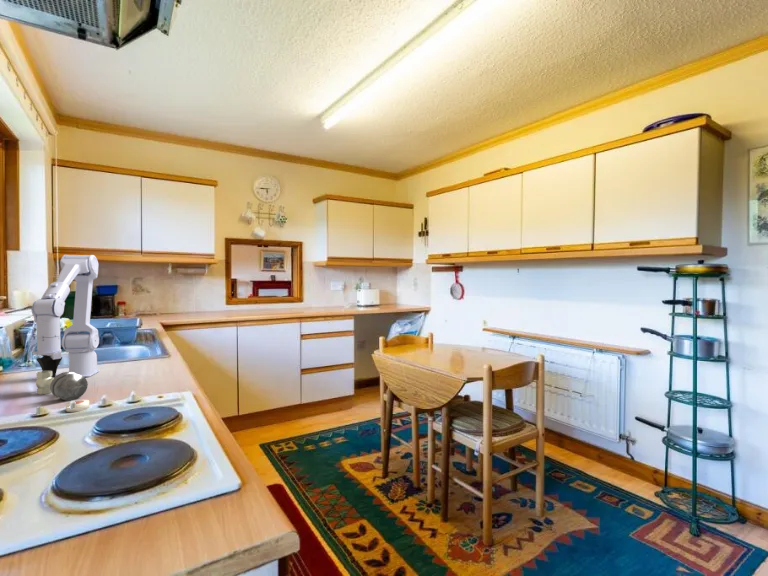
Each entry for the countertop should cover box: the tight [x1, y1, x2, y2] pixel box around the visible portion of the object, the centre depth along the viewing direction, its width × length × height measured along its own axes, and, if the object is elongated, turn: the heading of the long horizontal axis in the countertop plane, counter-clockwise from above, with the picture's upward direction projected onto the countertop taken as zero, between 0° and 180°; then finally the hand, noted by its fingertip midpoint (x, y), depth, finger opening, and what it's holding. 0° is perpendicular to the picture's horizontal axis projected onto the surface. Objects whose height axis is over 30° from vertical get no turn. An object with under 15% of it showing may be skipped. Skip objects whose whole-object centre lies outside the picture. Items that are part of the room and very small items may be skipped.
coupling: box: [50, 371, 89, 402], centre depth 118 cm, size 5×8×8 cm, turn 145°
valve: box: [35, 370, 80, 395], centre depth 124 cm, size 7×7×12 cm
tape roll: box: [65, 399, 90, 413], centre depth 109 cm, size 5×5×2 cm
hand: (49, 379), depth 127 cm, fingers closed
